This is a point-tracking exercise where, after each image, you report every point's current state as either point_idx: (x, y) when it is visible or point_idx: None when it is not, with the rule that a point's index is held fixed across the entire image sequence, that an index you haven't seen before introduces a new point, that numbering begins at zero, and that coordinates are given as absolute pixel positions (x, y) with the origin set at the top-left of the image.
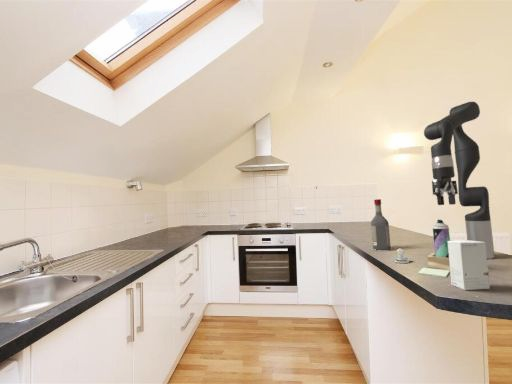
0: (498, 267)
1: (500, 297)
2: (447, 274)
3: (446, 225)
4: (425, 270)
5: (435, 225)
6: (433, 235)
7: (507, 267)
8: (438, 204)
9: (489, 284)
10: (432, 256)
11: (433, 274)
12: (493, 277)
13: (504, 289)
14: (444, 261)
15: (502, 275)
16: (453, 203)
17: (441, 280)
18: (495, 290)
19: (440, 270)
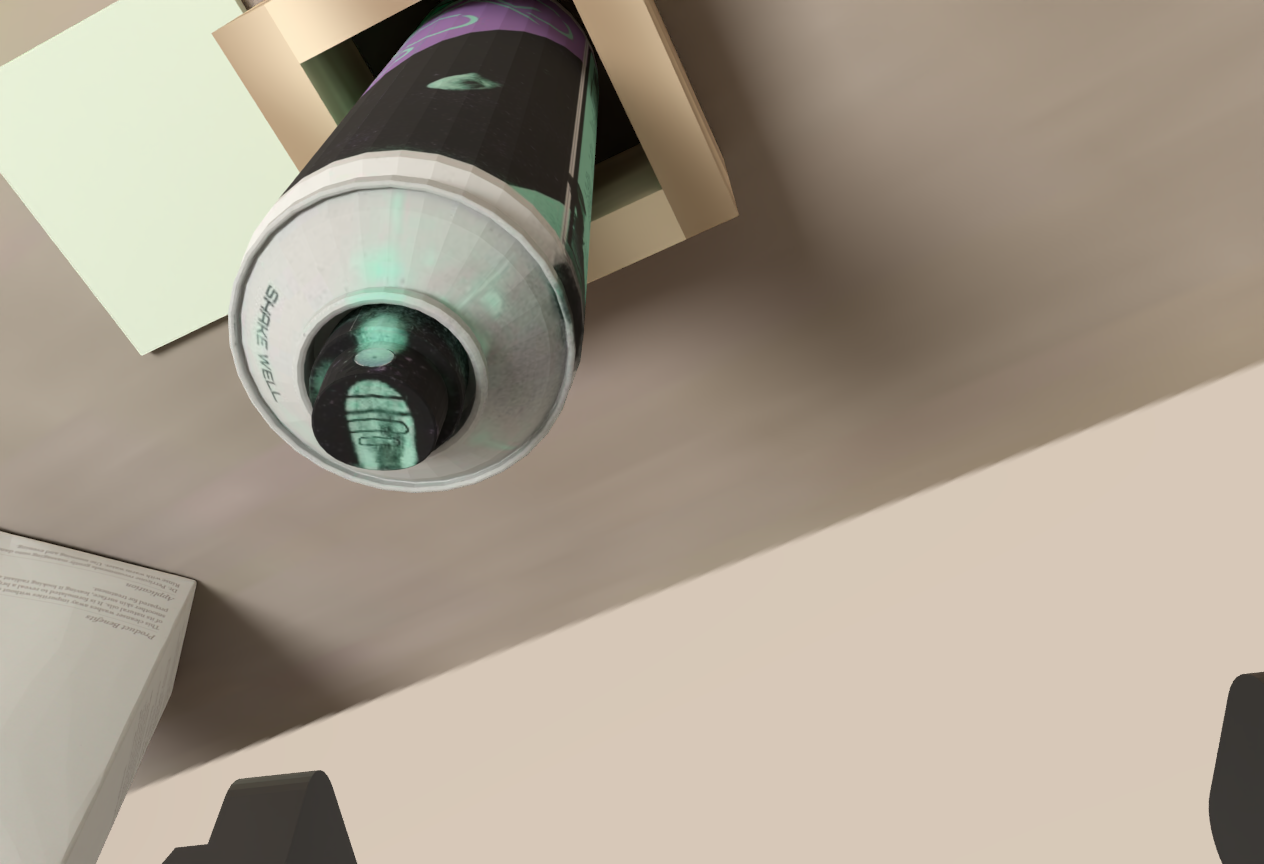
0: (1015, 388)
1: None
2: (225, 314)
3: (436, 476)
4: (113, 81)
5: (248, 324)
6: (334, 133)
7: (1080, 431)
8: (242, 802)
9: (161, 714)
10: (293, 72)
11: (63, 252)
12: (538, 550)
13: (268, 725)
14: None
15: (678, 553)
16: (1233, 830)
17: (5, 396)
18: (186, 712)
19: (286, 181)
